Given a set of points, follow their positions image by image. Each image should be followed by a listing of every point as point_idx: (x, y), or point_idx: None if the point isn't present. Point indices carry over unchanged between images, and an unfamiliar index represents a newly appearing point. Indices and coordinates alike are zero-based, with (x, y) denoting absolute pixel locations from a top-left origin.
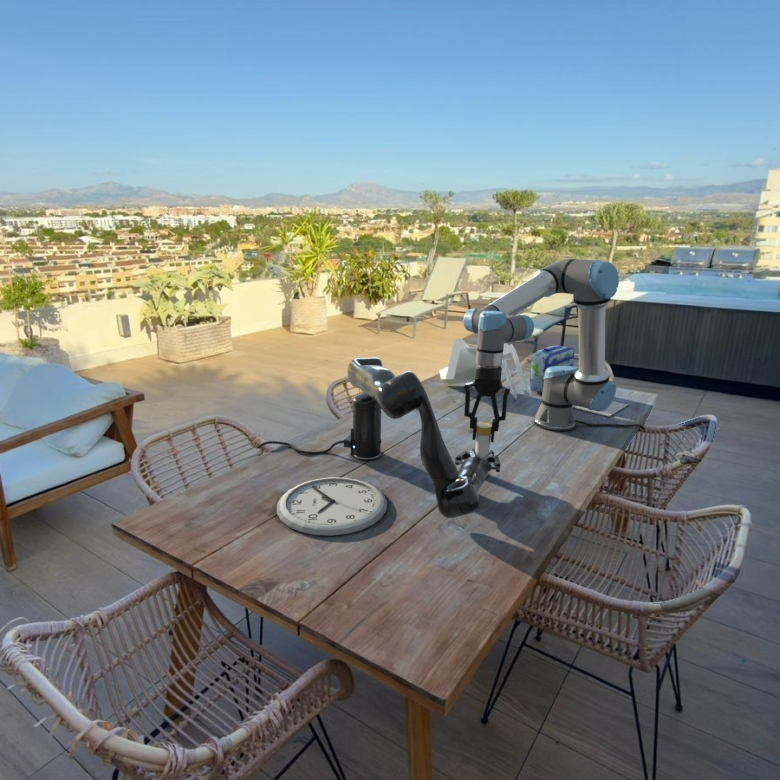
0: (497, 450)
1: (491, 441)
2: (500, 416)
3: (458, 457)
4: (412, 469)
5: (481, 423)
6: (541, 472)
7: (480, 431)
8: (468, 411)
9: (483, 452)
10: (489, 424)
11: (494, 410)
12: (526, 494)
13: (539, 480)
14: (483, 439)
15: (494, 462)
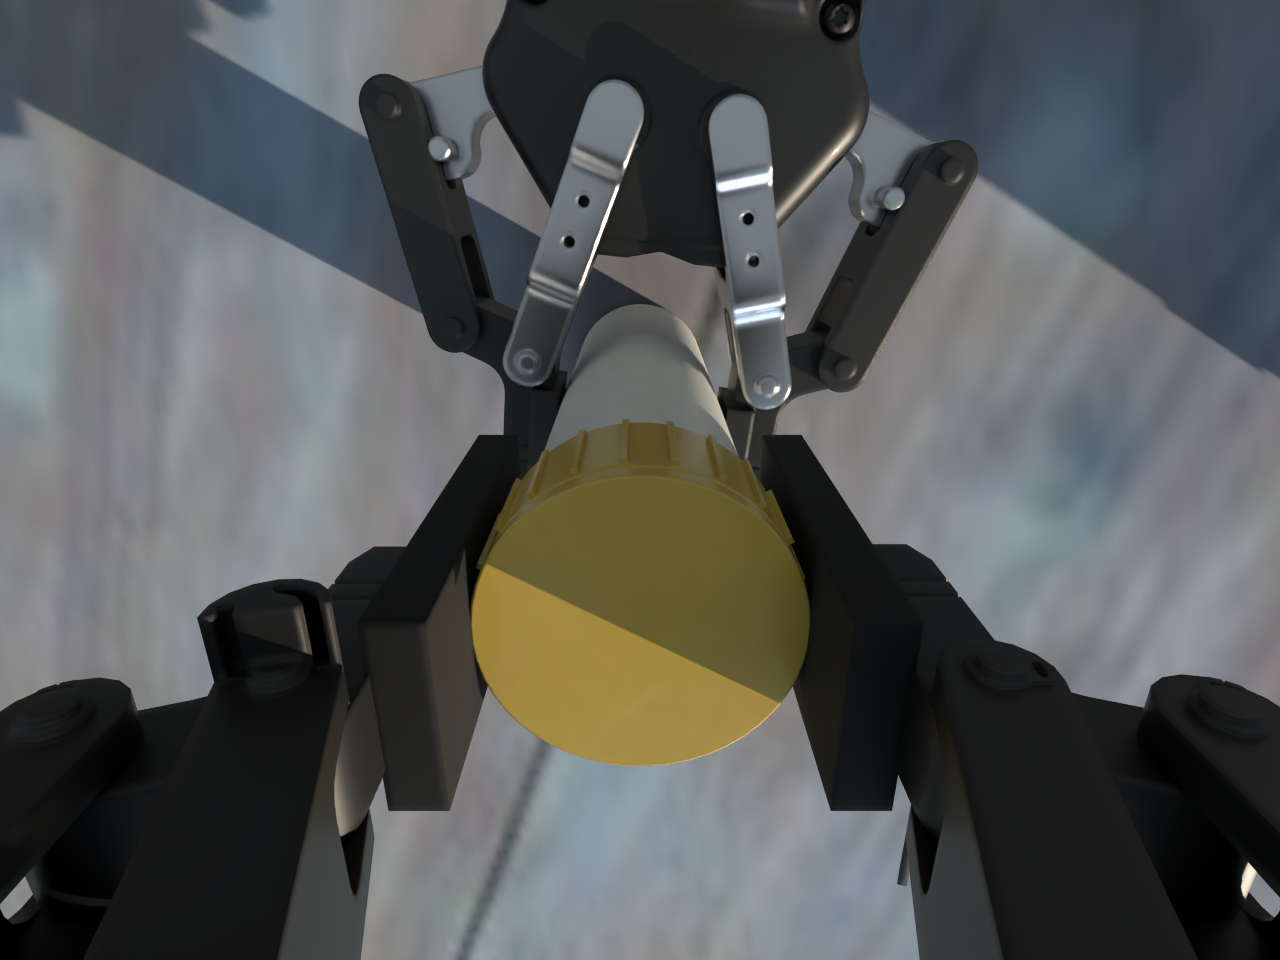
0: (556, 810)
1: (504, 438)
2: (146, 797)
3: (936, 152)
4: (1262, 296)
5: (705, 699)
6: (169, 552)
7: (698, 452)
8: (1259, 807)
9: (618, 360)
10: (538, 692)
11: (222, 951)
12: (183, 86)
13: (147, 407)
14: (628, 411)
15: (448, 143)
